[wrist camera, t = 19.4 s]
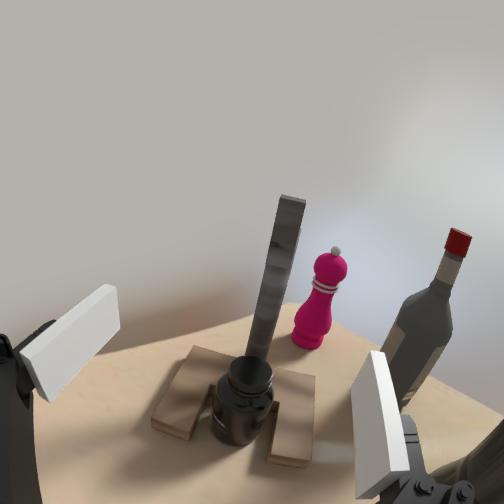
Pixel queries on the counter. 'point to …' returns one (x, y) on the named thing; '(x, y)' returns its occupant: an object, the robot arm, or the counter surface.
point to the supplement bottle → (242, 401)
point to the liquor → (424, 324)
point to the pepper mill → (319, 300)
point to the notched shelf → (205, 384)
